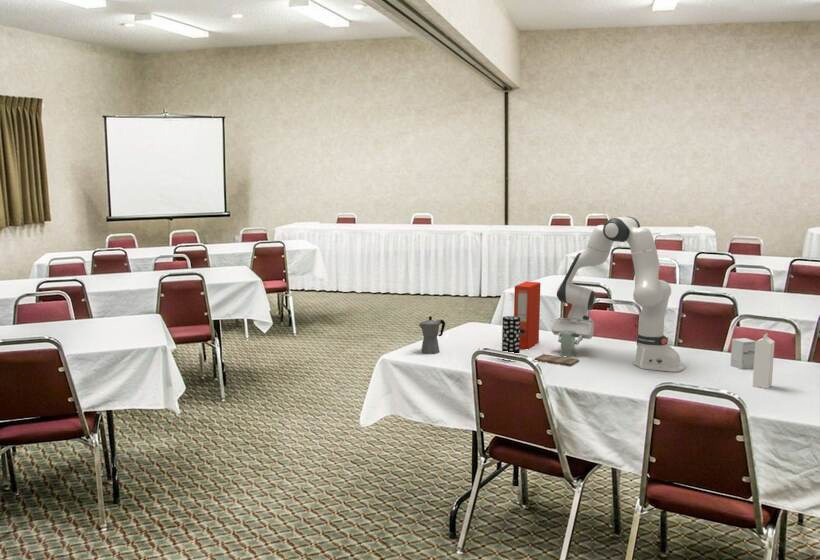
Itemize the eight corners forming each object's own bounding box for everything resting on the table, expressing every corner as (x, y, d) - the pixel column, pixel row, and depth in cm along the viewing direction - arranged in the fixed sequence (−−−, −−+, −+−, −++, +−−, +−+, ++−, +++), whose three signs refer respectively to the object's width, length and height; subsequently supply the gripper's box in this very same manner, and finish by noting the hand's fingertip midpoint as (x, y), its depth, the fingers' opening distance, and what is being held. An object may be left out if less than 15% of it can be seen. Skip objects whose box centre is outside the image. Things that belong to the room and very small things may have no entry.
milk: (771, 385, 305) (775, 333, 302) (767, 389, 300) (771, 336, 297) (756, 383, 309) (759, 331, 306) (751, 386, 304) (755, 334, 301)
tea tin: (574, 355, 357) (575, 331, 356) (570, 357, 353) (571, 333, 351) (564, 353, 360) (565, 329, 358) (560, 356, 356) (561, 331, 354)
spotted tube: (519, 356, 355) (519, 316, 352) (519, 361, 346) (520, 319, 344) (501, 356, 356) (502, 316, 353) (502, 360, 347) (502, 319, 344)
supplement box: (741, 369, 330) (742, 342, 328) (729, 365, 337) (731, 338, 336) (754, 368, 332) (756, 341, 330) (743, 364, 339) (745, 337, 337)
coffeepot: (424, 355, 358) (424, 319, 355) (414, 351, 366) (413, 316, 363) (450, 351, 366) (450, 316, 363) (439, 347, 374) (439, 313, 371)
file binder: (539, 343, 384) (540, 282, 379) (528, 350, 368) (529, 287, 364) (524, 341, 387) (525, 281, 383) (513, 348, 372) (514, 285, 368)
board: (578, 361, 345) (578, 359, 345) (570, 366, 337) (570, 363, 337) (543, 356, 355) (543, 354, 355) (534, 360, 347) (534, 358, 347)
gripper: (555, 313, 366) (546, 336, 359) (594, 318, 354) (586, 341, 348) (558, 321, 370) (549, 343, 364) (597, 325, 359) (589, 349, 352)
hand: (567, 342), depth 356 cm, fingers open, 7 cm apart
